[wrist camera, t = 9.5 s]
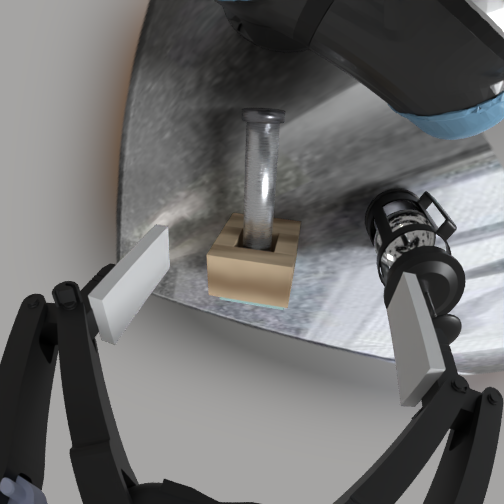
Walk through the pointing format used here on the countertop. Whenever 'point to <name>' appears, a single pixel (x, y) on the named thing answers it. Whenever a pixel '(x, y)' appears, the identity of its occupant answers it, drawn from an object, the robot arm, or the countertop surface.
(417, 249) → the french press
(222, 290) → the housing
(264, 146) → the shaft
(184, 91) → the countertop surface
